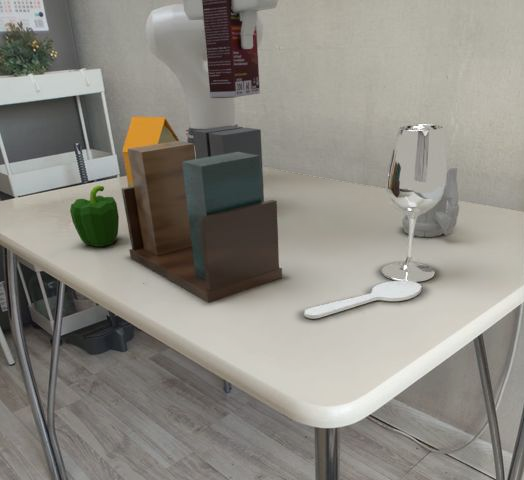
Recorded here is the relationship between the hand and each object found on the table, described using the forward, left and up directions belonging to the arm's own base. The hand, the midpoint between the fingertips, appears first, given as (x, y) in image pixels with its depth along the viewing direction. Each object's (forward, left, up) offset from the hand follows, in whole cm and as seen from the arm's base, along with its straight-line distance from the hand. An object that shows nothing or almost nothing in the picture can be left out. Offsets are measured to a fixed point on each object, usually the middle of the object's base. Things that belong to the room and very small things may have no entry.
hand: (231, 50), depth 81 cm
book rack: (+7, -13, -30) cm, 33 cm away
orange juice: (-19, -6, -30) cm, 36 cm away
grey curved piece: (+22, +25, -30) cm, 45 cm away
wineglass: (+31, +8, -30) cm, 44 cm away
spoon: (+33, -4, -30) cm, 45 cm away
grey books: (-18, +10, -30) cm, 36 cm away
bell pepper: (-17, -20, -30) cm, 40 cm away
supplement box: (0, 0, -7) cm, 7 cm away
